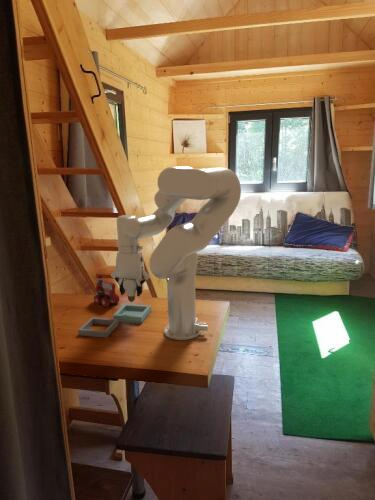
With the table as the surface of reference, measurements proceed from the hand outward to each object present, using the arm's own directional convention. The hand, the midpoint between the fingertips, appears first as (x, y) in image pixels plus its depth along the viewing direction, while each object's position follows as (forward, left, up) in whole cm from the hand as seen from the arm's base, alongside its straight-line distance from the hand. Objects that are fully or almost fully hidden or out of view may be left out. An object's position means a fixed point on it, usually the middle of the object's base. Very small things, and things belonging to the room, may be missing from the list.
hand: (131, 294), depth 143 cm
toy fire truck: (+16, -11, -9) cm, 21 cm away
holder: (+8, +13, -9) cm, 18 cm away
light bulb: (0, 0, -3) cm, 3 cm away
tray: (0, 0, -9) cm, 9 cm away
